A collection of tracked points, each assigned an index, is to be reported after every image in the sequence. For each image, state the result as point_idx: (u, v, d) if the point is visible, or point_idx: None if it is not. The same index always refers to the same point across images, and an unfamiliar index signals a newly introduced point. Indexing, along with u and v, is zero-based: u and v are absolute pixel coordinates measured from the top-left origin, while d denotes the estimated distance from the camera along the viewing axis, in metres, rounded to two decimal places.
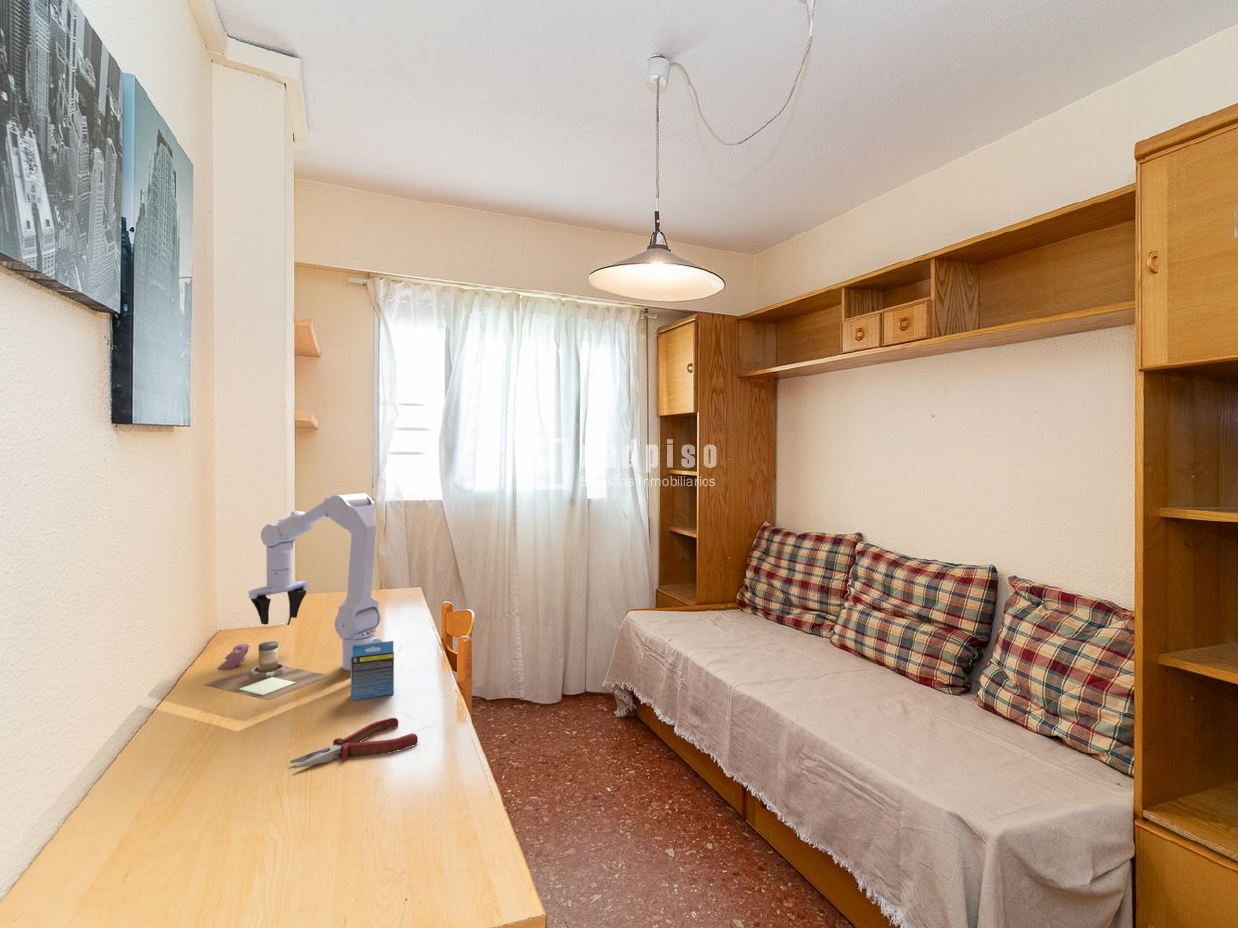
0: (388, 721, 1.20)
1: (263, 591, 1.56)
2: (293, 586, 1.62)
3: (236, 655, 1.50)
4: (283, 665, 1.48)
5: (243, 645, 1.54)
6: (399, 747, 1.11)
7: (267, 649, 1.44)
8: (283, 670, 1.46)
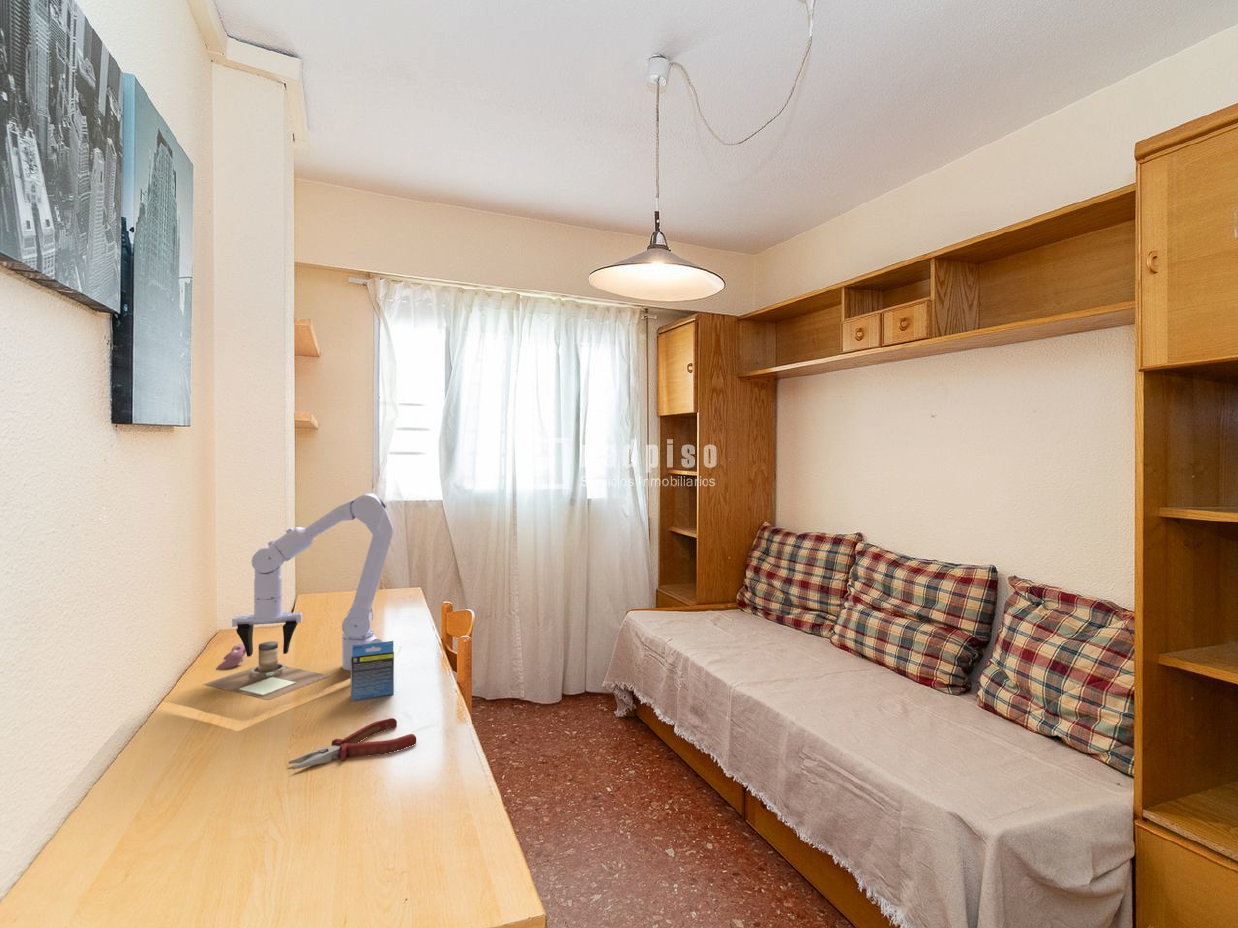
0: (387, 721, 1.19)
1: (243, 620, 1.43)
2: (277, 619, 1.44)
3: (235, 655, 1.50)
4: (283, 665, 1.48)
5: (242, 645, 1.54)
6: (398, 748, 1.11)
7: (267, 649, 1.44)
8: (283, 670, 1.46)
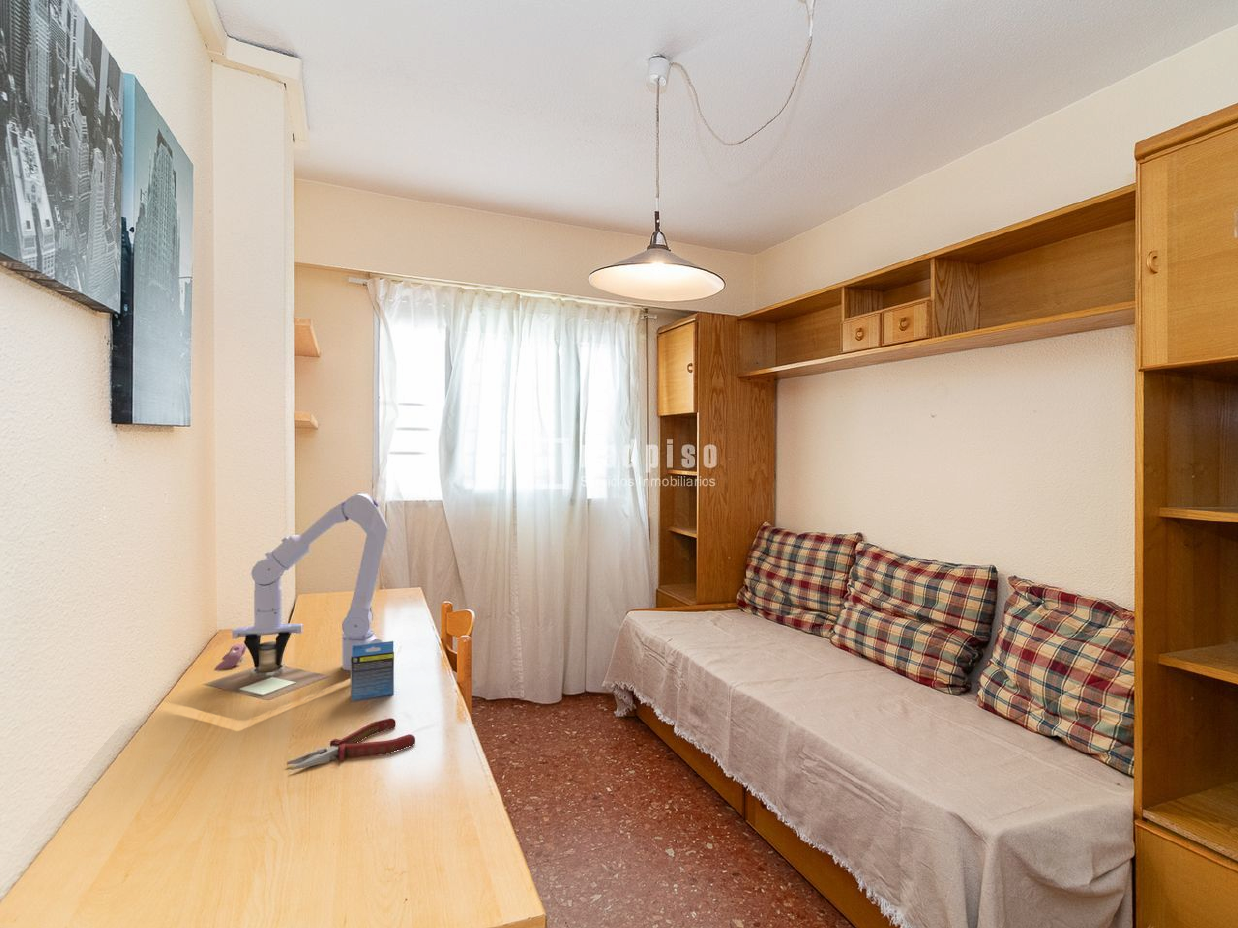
0: (385, 722, 1.19)
1: (243, 632, 1.43)
2: (277, 630, 1.44)
3: (233, 656, 1.50)
4: (283, 665, 1.48)
5: (240, 645, 1.54)
6: (396, 748, 1.10)
7: (267, 649, 1.44)
8: (283, 670, 1.46)
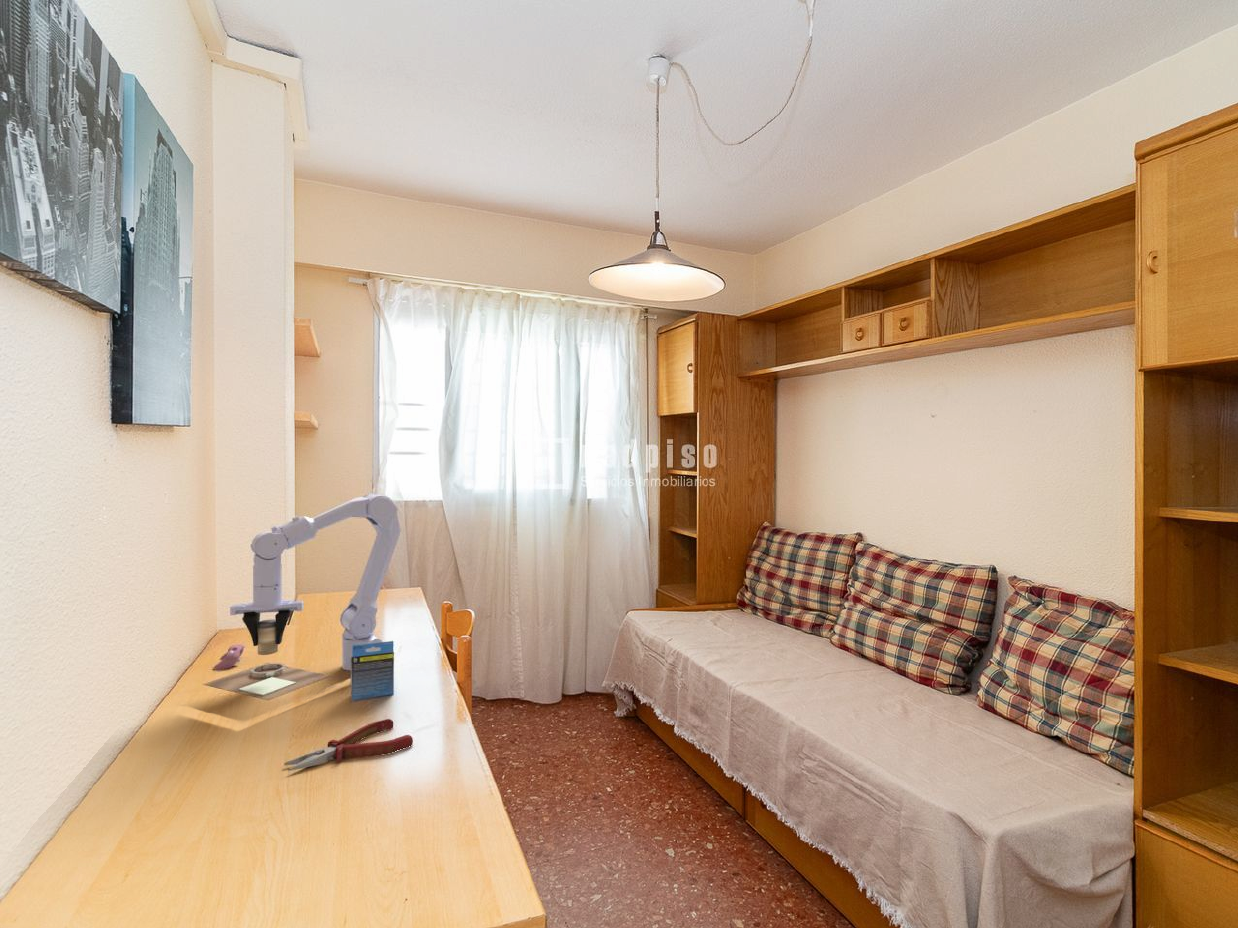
0: (383, 722, 1.19)
1: (241, 608, 1.37)
2: (277, 607, 1.38)
3: (231, 656, 1.50)
4: (283, 665, 1.48)
5: (238, 646, 1.54)
6: (394, 749, 1.10)
7: (266, 627, 1.38)
8: (283, 670, 1.46)
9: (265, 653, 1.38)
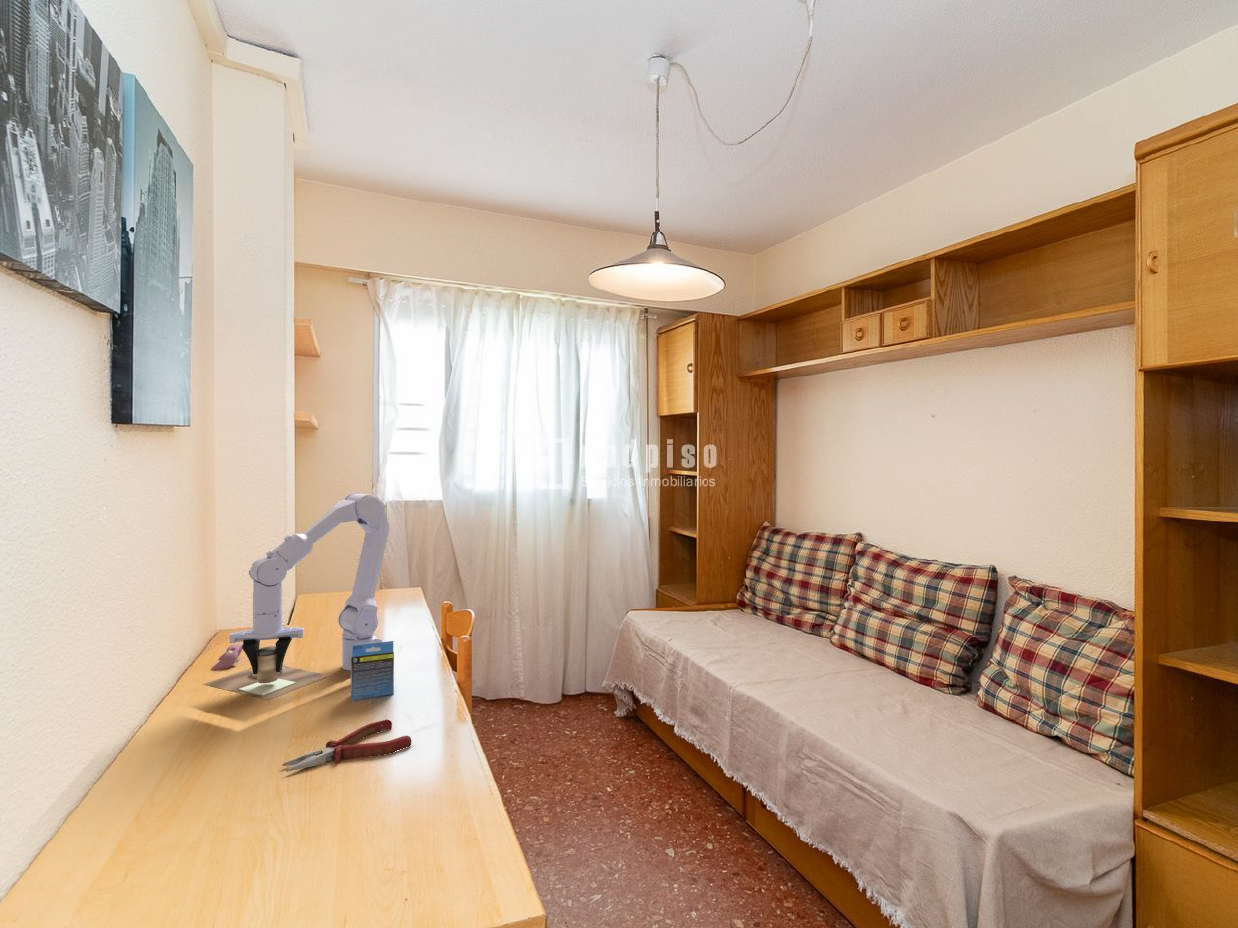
0: (382, 723, 1.19)
1: (241, 636, 1.34)
2: (277, 634, 1.36)
3: (229, 656, 1.50)
4: (283, 665, 1.48)
5: (237, 646, 1.54)
6: (392, 749, 1.10)
7: (266, 655, 1.35)
8: (283, 670, 1.46)
9: (265, 681, 1.35)
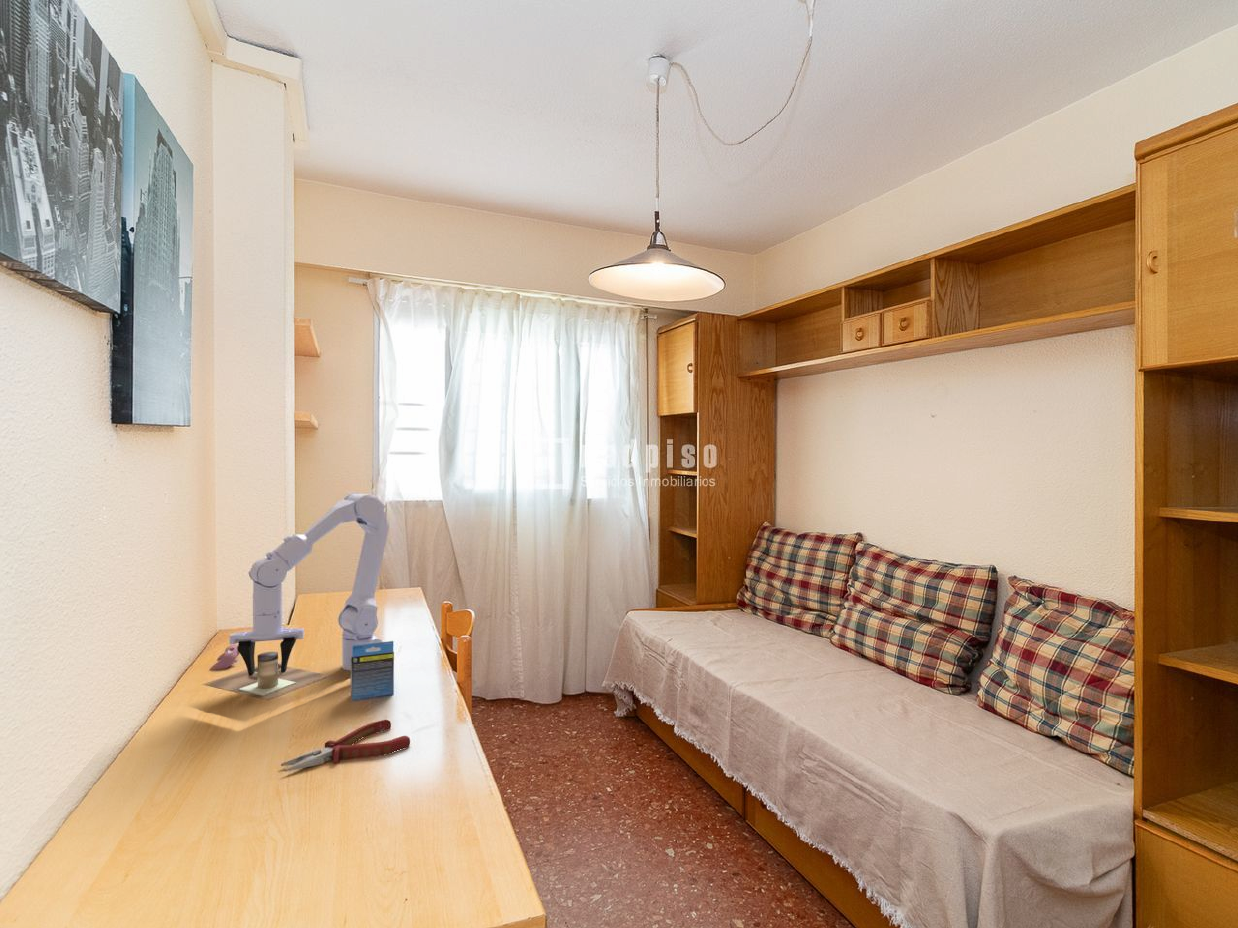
0: (380, 723, 1.19)
1: (241, 637, 1.34)
2: (277, 635, 1.36)
3: (228, 656, 1.50)
4: None
5: (235, 646, 1.54)
6: (391, 749, 1.10)
7: (267, 660, 1.35)
8: None
9: (265, 687, 1.35)
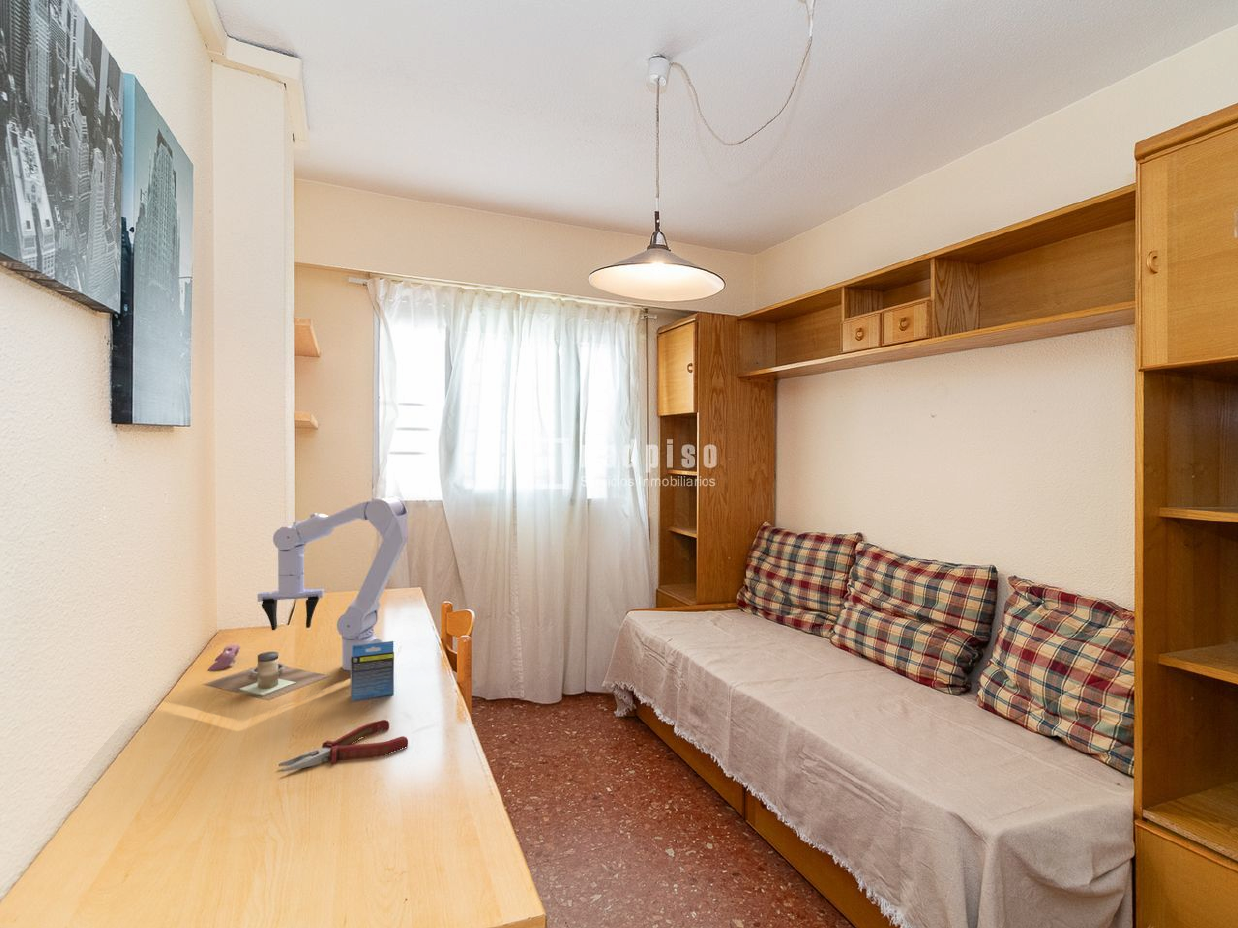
0: (379, 723, 1.18)
1: (268, 595, 1.50)
2: (300, 594, 1.51)
3: (226, 656, 1.49)
4: (283, 665, 1.48)
5: (233, 646, 1.54)
6: (389, 750, 1.10)
7: (267, 660, 1.36)
8: (283, 670, 1.46)
9: (265, 687, 1.35)
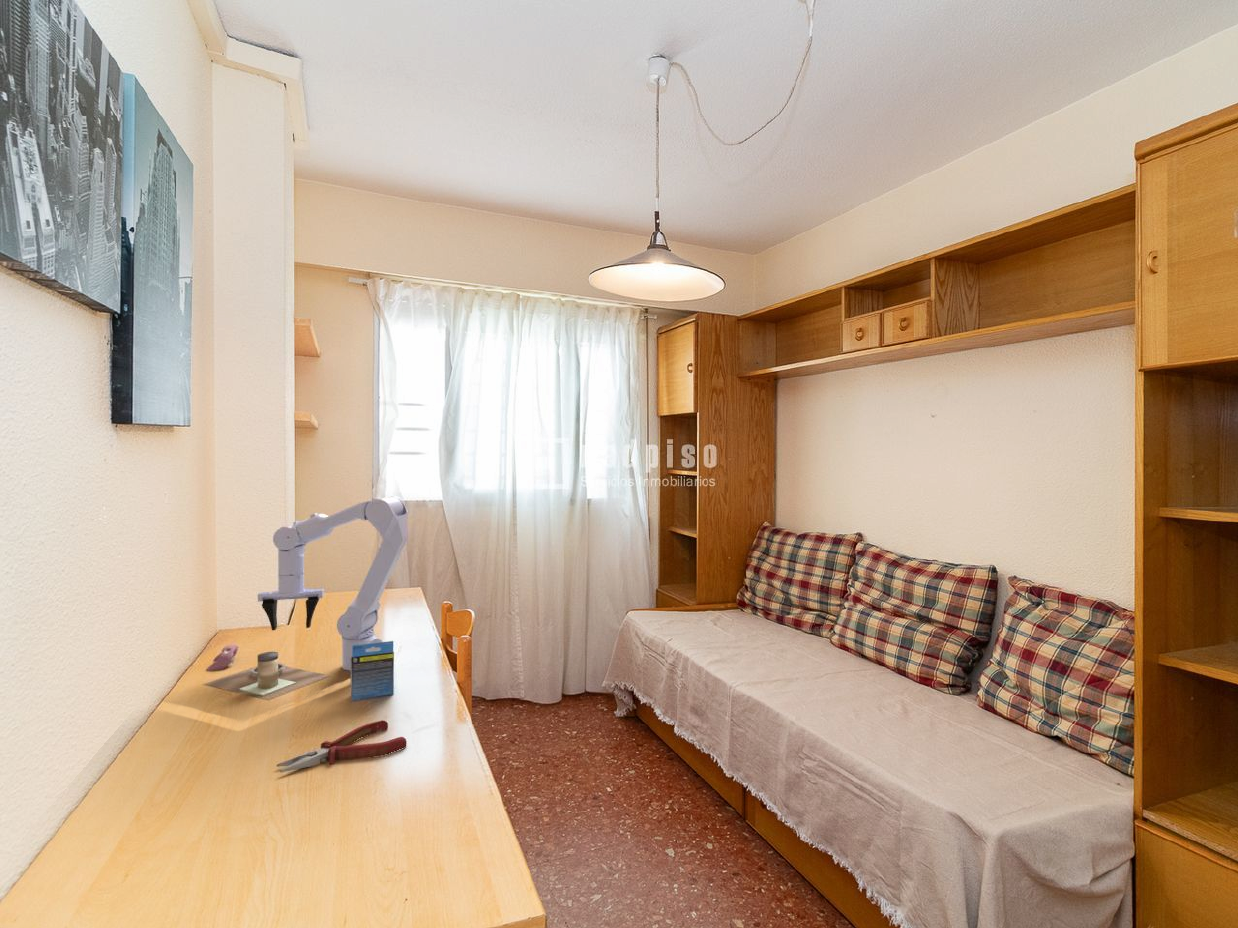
0: (377, 724, 1.18)
1: (268, 595, 1.50)
2: (300, 594, 1.51)
3: (225, 657, 1.49)
4: (283, 665, 1.48)
5: (232, 646, 1.54)
6: (387, 751, 1.09)
7: (267, 660, 1.36)
8: (283, 670, 1.46)
9: (265, 687, 1.35)
